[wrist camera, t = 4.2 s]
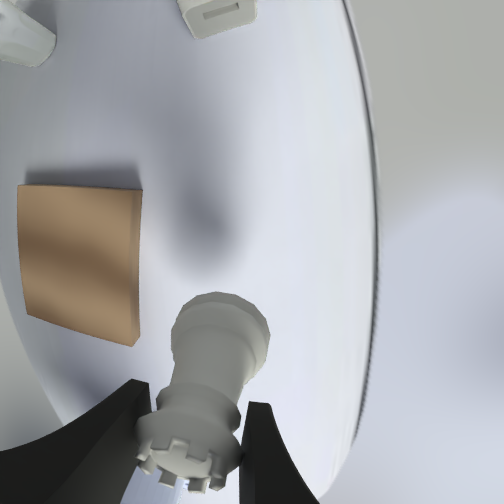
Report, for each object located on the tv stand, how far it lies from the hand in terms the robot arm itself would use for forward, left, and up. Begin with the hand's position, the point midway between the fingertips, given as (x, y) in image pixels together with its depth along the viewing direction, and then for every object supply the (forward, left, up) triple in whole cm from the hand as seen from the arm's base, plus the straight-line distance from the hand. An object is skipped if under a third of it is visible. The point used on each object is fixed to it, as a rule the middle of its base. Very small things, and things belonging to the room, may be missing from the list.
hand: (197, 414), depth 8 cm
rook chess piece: (0, 0, -6) cm, 6 cm away
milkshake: (+17, +18, -10) cm, 27 cm away
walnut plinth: (+1, +11, -10) cm, 15 cm away
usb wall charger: (+20, +4, -10) cm, 23 cm away
